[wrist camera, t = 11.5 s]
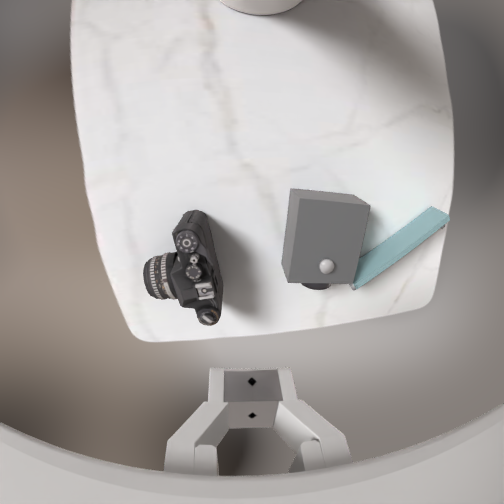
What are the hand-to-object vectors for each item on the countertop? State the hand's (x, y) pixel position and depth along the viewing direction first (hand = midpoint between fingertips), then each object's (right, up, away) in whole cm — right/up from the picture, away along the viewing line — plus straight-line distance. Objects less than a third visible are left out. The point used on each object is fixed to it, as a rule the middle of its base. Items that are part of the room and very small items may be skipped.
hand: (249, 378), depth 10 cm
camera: (-10, +4, +34) cm, 36 cm away
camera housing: (+10, +8, +33) cm, 36 cm away
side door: (+24, +7, +34) cm, 42 cm away
